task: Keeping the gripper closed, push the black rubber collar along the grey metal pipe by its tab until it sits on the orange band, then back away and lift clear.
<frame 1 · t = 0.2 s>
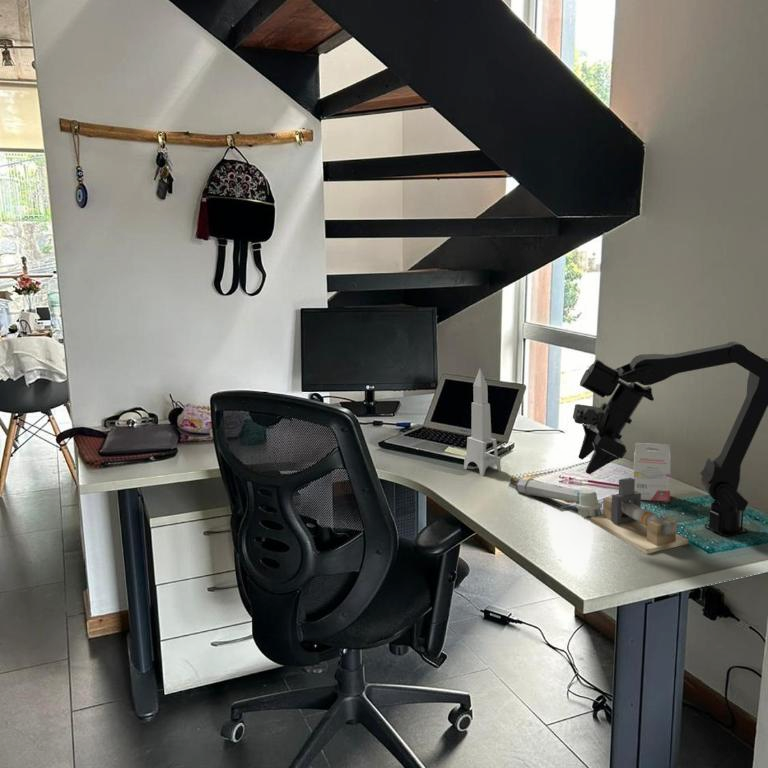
hand: (583, 465, 163), 15 cm above the table, tool tilted 30°, fingers open, 9 cm apart
sculpture: (482, 470, 209), on the table
pipe stand: (637, 532, 162), on the table
ink cartridge box: (651, 498, 182), on the table
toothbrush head: (557, 505, 181), on the table
collar: (626, 500, 164), point 6 cm above the table, slide at 0.0 cm
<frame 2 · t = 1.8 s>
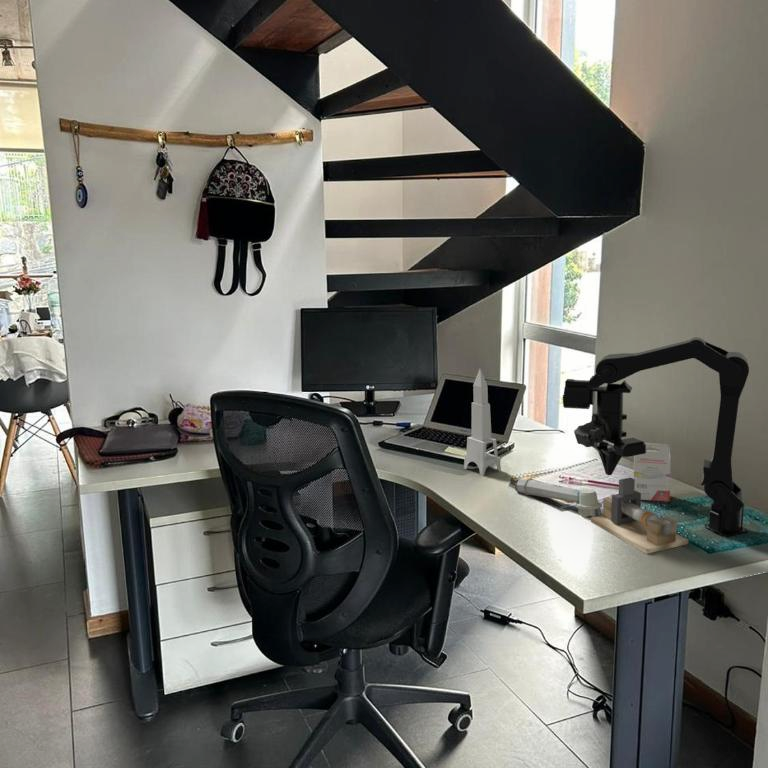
hand: (608, 474, 169), 10 cm above the table, tool pointing down, fingers closed
nothing on the table moved.
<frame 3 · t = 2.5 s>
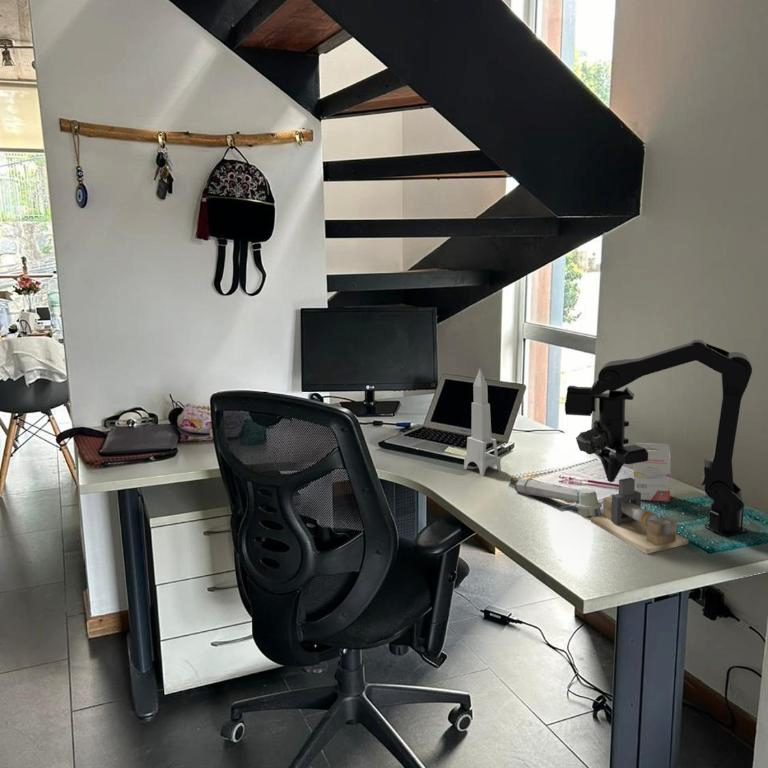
hand: (610, 481, 169), 9 cm above the table, tool pointing down, fingers closed
nothing on the table moved.
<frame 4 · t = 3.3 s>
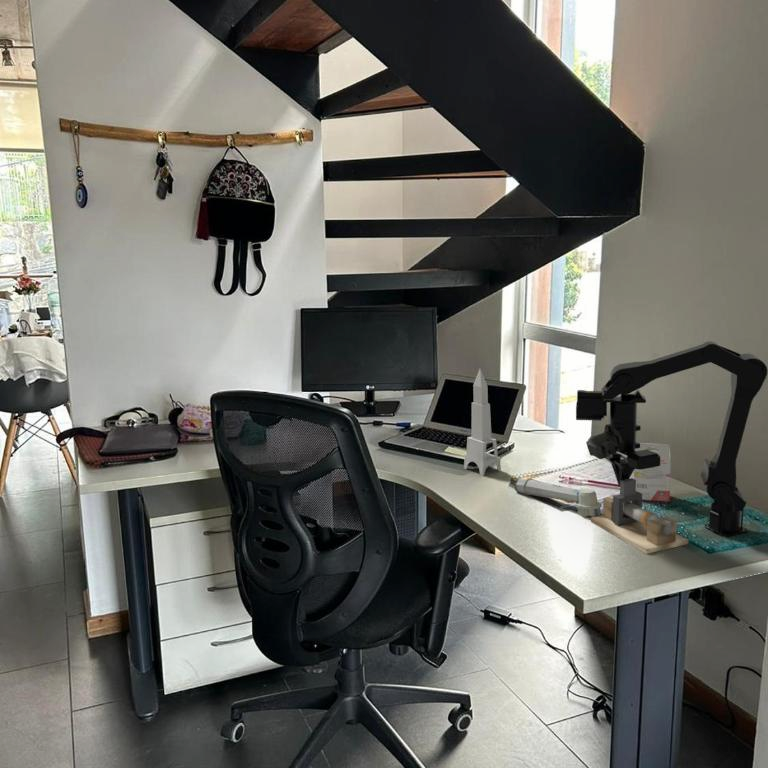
hand: (621, 486, 165), 9 cm above the table, tool pointing down, fingers closed
collar: (627, 500, 164), point 6 cm above the table, slide at 0.5 cm, touching gripper
everything else where it was.
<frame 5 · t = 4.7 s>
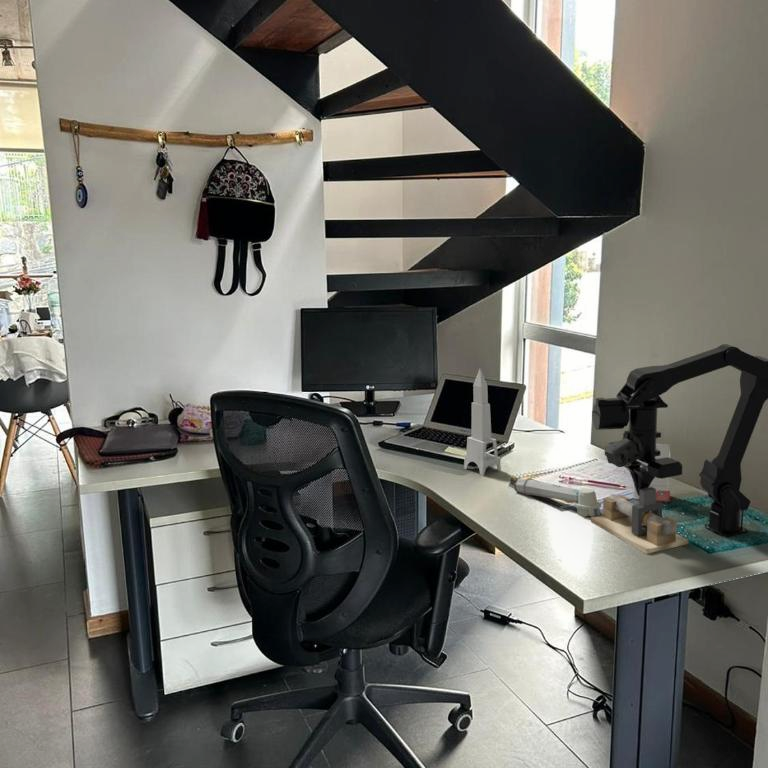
hand: (640, 495, 159), 9 cm above the table, tool pointing down, fingers closed
collar: (647, 510, 158), point 6 cm above the table, slide at 6.9 cm, touching gripper
everything else where it was.
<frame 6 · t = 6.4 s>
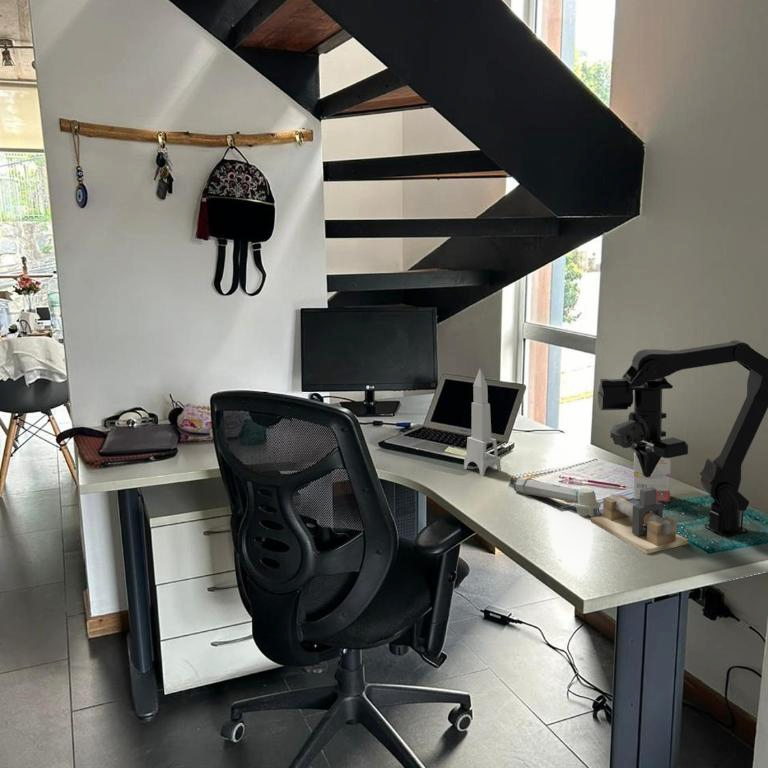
hand: (647, 476, 160), 13 cm above the table, tool pointing down, fingers closed
collar: (647, 510, 158), point 6 cm above the table, slide at 7.1 cm
everything else where it was.
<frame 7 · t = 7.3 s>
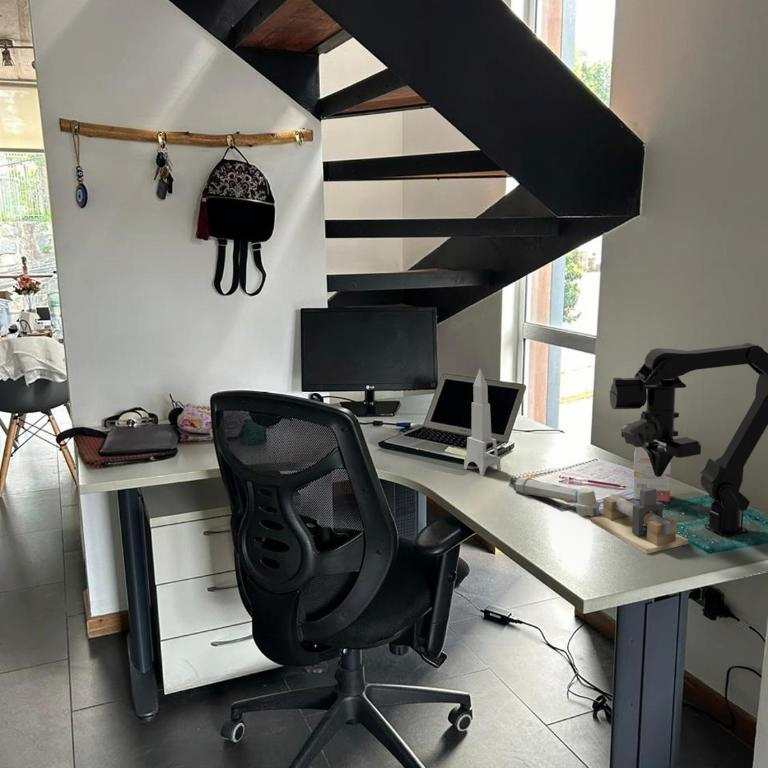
hand: (658, 476, 159), 13 cm above the table, tool pointing down, fingers closed
nothing on the table moved.
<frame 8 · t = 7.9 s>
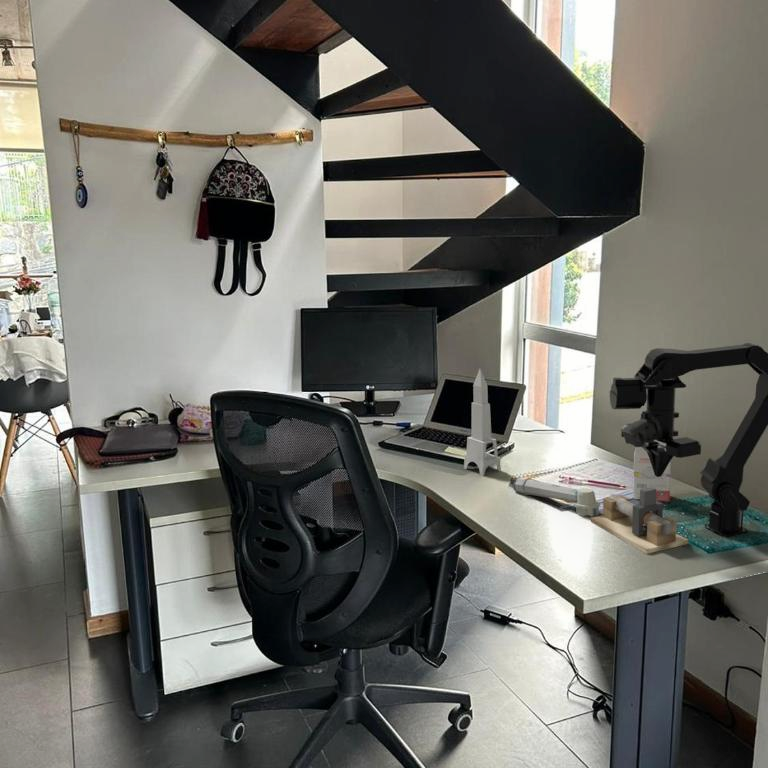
hand: (658, 476, 159), 13 cm above the table, tool pointing down, fingers closed
nothing on the table moved.
at the end: collar slide at 7.1 cm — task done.
